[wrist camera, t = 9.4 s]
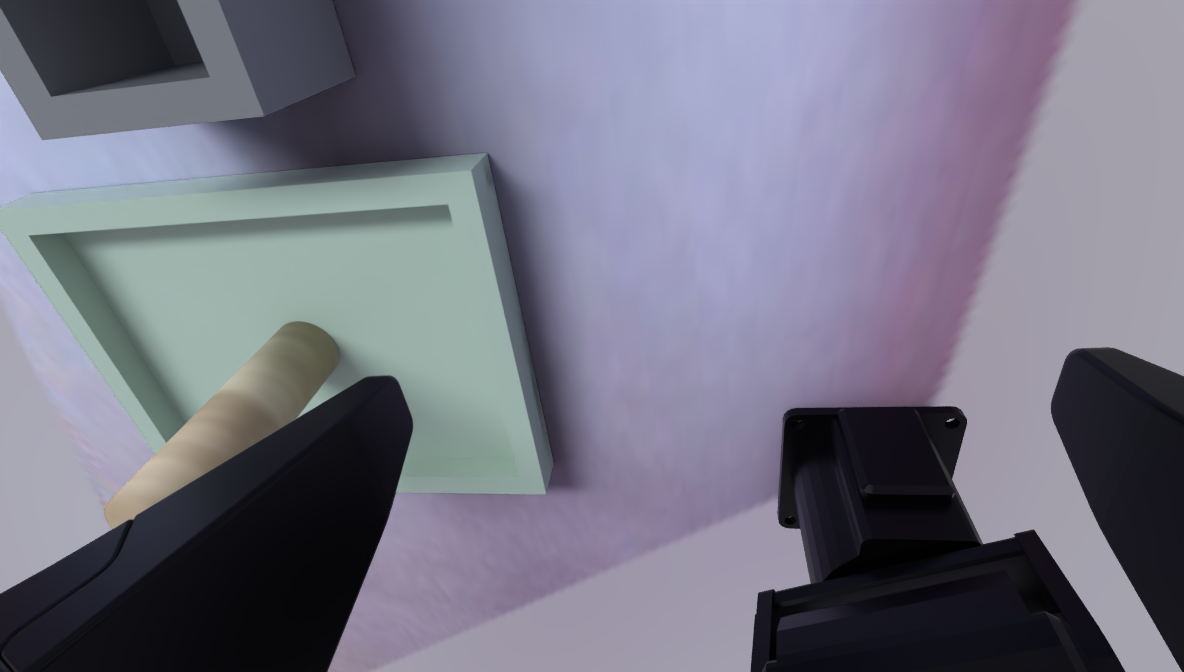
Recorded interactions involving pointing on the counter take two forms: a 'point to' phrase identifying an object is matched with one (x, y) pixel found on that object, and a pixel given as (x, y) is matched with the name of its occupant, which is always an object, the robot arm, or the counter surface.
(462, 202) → the tray
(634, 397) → the counter surface
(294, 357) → the dowel pin
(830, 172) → the counter surface
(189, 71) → the grey square sleeve
